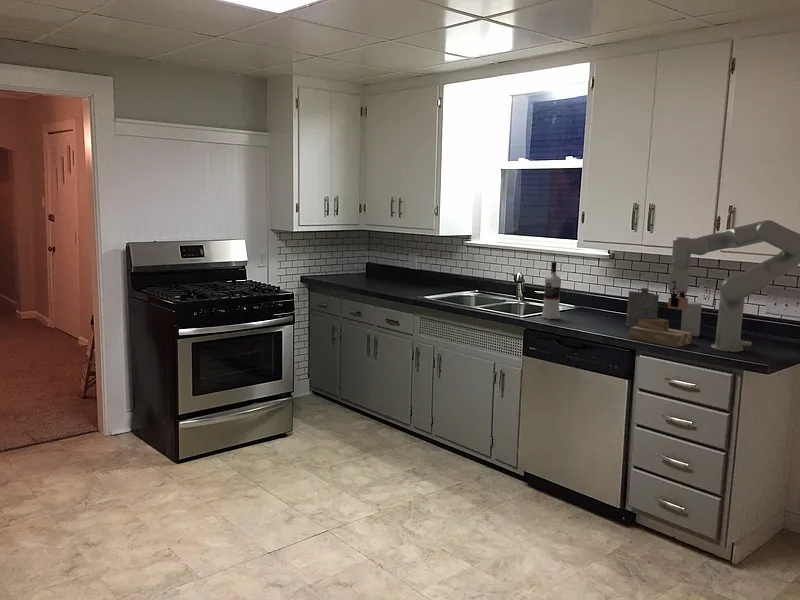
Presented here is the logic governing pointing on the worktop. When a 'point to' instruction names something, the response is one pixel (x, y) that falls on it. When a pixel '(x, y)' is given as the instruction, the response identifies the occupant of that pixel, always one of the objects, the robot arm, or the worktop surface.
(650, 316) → the t-key bolt
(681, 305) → the cover cap
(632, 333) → the stepped wooden block
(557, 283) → the vodka
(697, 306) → the skincare box
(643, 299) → the hip flask
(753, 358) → the worktop surface
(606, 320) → the worktop surface
